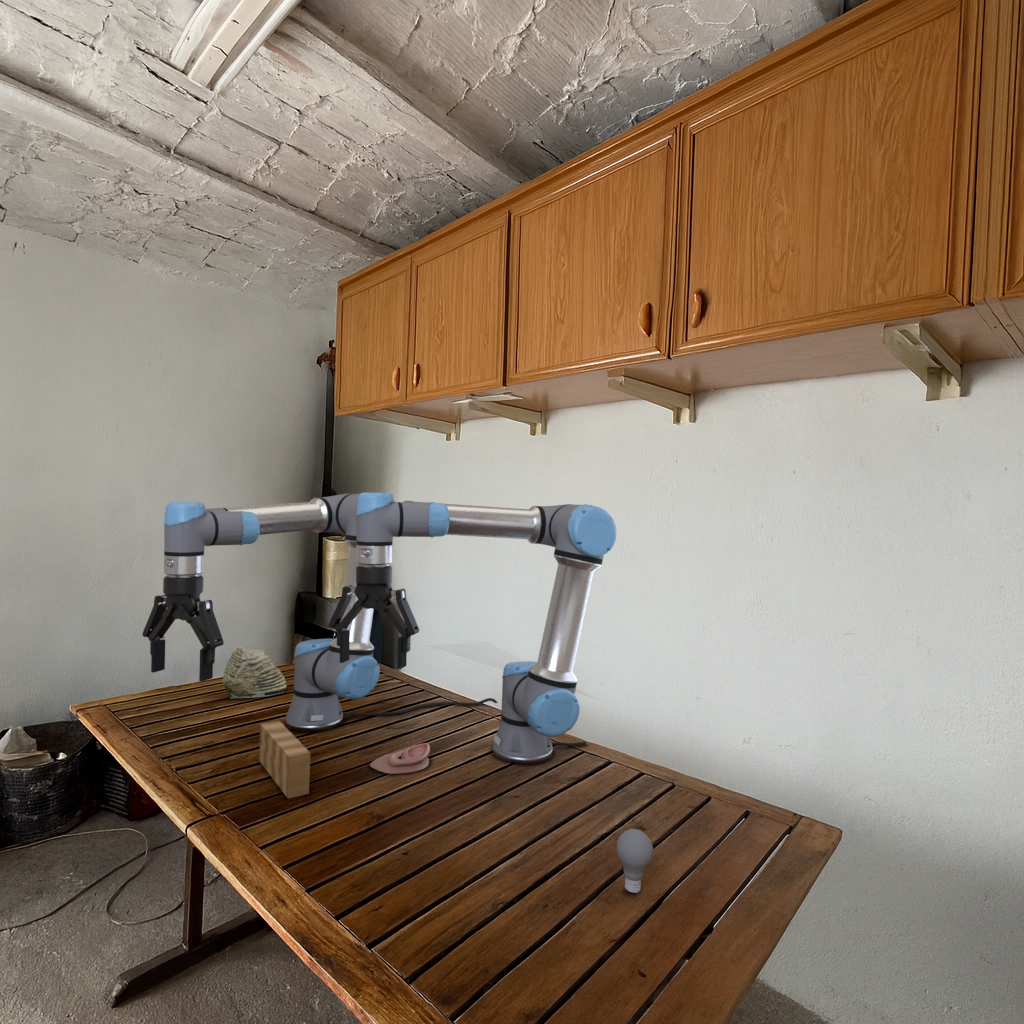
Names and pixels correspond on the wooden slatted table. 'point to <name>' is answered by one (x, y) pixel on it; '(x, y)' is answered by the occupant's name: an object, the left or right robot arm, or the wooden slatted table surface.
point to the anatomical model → (404, 760)
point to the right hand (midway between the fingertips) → (372, 664)
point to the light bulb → (634, 857)
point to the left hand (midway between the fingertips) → (181, 675)
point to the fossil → (252, 674)
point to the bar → (284, 759)
